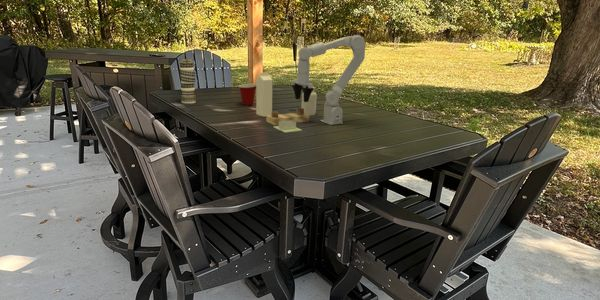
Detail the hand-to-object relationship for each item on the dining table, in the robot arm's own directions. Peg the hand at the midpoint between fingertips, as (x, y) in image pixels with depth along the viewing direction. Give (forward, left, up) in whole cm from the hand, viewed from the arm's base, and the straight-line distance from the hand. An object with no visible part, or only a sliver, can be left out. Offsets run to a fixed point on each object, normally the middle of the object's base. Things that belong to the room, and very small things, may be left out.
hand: (301, 100), depth 192 cm
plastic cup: (+49, +7, -11) cm, 50 cm away
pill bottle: (+12, -12, -11) cm, 20 cm away
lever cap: (-11, +15, -10) cm, 21 cm away
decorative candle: (+70, +36, -11) cm, 79 cm away
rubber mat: (-11, +15, -10) cm, 21 cm away
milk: (+20, +11, -11) cm, 25 cm away
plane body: (+2, +7, -10) cm, 12 cm away
